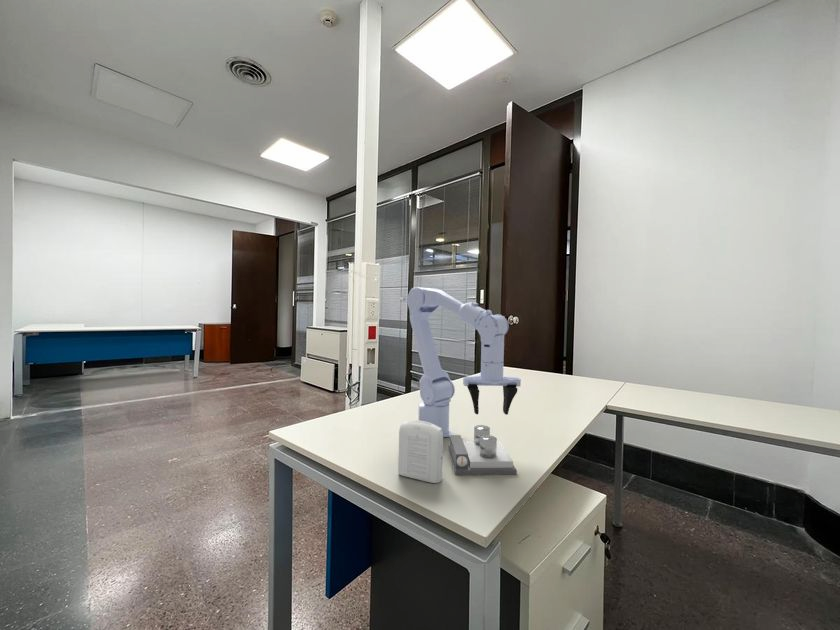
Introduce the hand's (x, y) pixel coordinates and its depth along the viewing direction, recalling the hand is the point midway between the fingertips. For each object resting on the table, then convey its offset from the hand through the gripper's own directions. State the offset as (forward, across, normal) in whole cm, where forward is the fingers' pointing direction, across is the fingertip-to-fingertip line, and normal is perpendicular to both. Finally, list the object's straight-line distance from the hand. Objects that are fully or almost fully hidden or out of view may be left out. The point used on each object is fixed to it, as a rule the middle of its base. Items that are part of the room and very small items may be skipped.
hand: (490, 413), depth 85 cm
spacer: (+8, -2, -7) cm, 11 cm away
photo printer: (+11, -18, -12) cm, 24 cm away
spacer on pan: (+8, -2, 0) cm, 8 cm away
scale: (+10, -4, -5) cm, 12 cm away
